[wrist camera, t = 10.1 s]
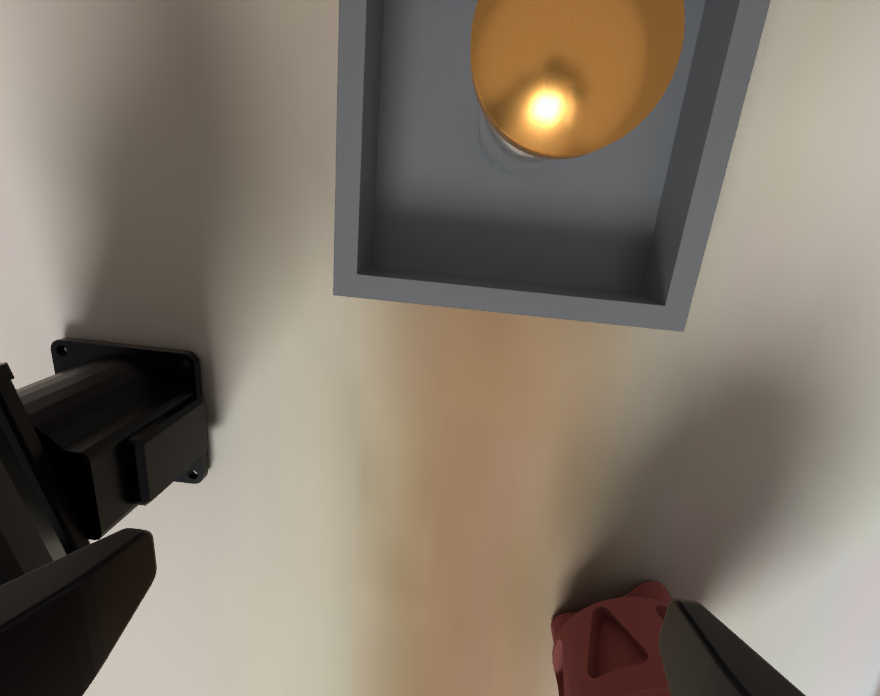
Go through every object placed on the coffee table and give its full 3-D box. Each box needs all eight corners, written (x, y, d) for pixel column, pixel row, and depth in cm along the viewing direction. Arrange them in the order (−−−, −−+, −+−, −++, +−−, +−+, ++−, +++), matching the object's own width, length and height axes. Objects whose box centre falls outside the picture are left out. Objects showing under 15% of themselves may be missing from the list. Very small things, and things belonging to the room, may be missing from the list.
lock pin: (465, 179, 16) (460, 145, 8) (475, 74, 15) (482, -96, 7) (558, 187, 16) (657, 162, 8) (574, 81, 15) (709, -82, 7)
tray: (354, 281, 18) (333, 295, 16) (367, -77, 15) (342, -146, 12) (649, 312, 18) (683, 331, 15) (735, -52, 14) (800, -117, 12)
